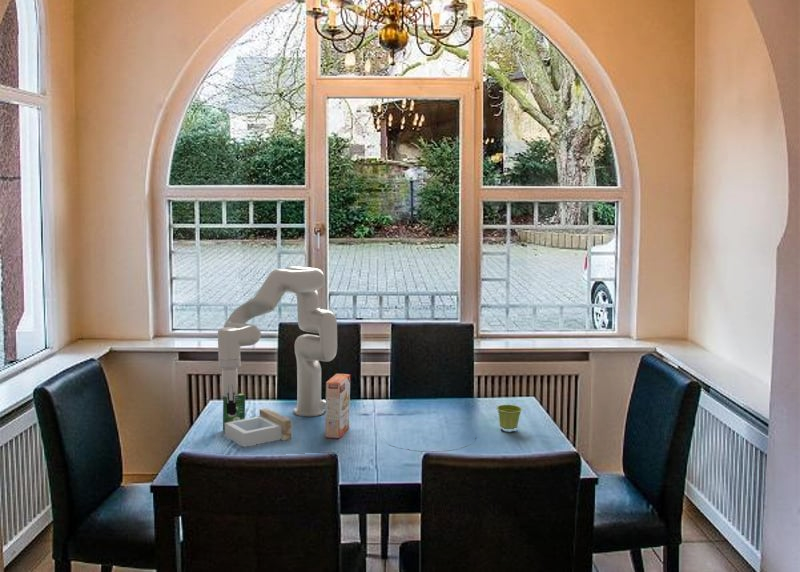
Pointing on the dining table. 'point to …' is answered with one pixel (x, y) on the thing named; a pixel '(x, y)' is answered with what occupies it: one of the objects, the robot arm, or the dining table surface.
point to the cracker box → (337, 405)
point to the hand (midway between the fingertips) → (231, 413)
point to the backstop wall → (278, 422)
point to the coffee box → (239, 409)
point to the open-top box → (253, 431)
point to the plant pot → (509, 416)
